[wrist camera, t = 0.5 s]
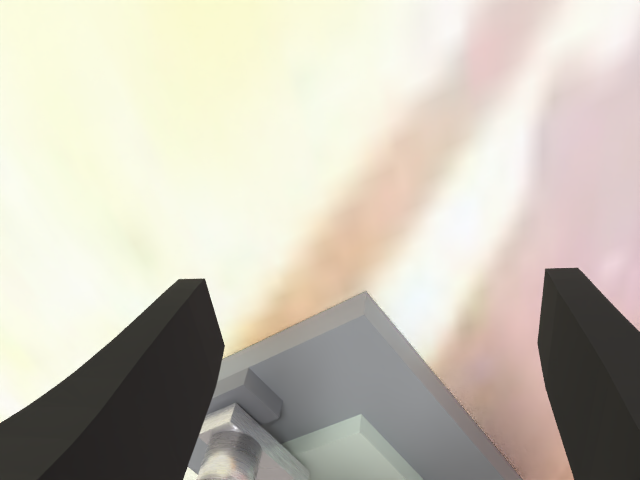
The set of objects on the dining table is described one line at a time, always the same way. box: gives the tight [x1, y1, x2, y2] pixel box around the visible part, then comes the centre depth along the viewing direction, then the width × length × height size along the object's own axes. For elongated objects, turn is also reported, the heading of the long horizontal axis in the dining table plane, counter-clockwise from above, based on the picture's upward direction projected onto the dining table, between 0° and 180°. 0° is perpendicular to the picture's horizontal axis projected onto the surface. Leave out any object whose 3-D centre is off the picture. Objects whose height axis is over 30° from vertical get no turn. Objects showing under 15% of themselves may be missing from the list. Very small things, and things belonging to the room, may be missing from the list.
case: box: [188, 291, 522, 480], centre depth 30 cm, size 16×14×2 cm
